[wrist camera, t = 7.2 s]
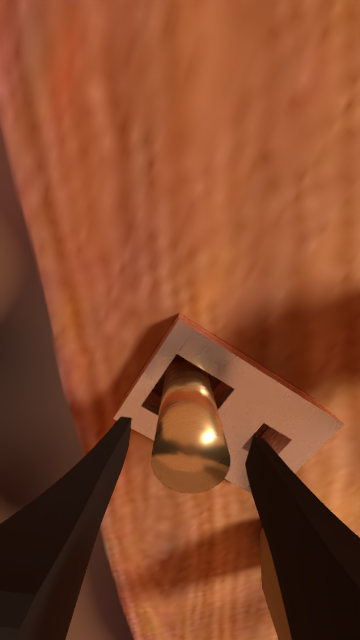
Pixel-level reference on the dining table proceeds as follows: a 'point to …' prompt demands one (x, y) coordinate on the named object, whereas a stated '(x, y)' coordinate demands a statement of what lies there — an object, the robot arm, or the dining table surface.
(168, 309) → the dining table surface
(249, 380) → the plate
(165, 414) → the brass fitting
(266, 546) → the squeeze bottle
